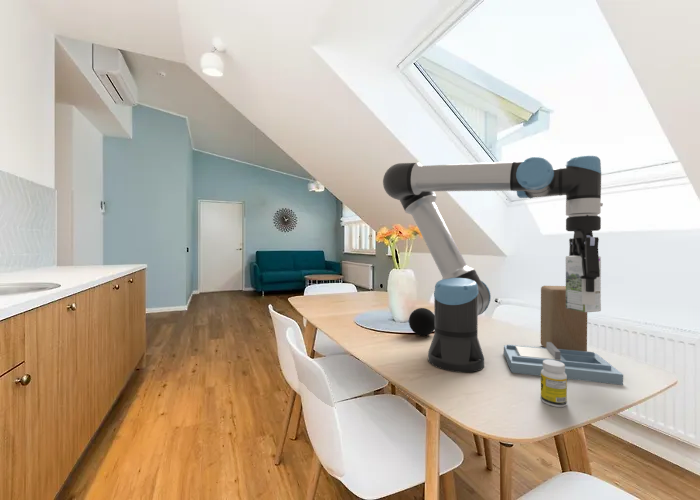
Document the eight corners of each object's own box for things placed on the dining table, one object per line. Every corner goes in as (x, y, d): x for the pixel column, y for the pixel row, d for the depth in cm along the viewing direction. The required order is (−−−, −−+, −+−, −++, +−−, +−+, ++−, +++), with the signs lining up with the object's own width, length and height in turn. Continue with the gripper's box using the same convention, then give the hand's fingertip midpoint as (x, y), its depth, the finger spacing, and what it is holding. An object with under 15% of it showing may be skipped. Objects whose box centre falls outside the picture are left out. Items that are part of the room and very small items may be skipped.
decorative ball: (440, 338, 117) (440, 310, 117) (414, 339, 115) (414, 311, 115) (430, 331, 127) (430, 305, 126) (405, 332, 125) (405, 306, 125)
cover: (520, 359, 88) (520, 348, 87) (515, 349, 96) (515, 339, 96) (561, 363, 84) (561, 352, 84) (552, 352, 93) (552, 342, 93)
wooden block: (588, 356, 97) (589, 290, 97) (551, 354, 99) (552, 289, 99) (572, 346, 107) (573, 285, 107) (539, 344, 109) (539, 285, 109)
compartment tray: (511, 372, 85) (511, 359, 85) (503, 353, 100) (503, 342, 100) (623, 384, 77) (623, 370, 77) (596, 362, 93) (596, 349, 93)
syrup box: (601, 311, 85) (602, 255, 85) (584, 312, 83) (585, 256, 83) (580, 307, 90) (581, 255, 90) (564, 308, 89) (564, 255, 88)
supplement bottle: (543, 394, 72) (543, 357, 72) (568, 401, 69) (568, 362, 69) (538, 402, 69) (538, 363, 69) (564, 410, 66) (565, 368, 66)
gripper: (617, 211, 75) (617, 309, 76) (585, 218, 95) (584, 296, 95) (579, 212, 78) (579, 307, 78) (555, 219, 97) (555, 295, 98)
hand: (582, 301), depth 87 cm, fingers closed on syrup box, 8 cm apart
